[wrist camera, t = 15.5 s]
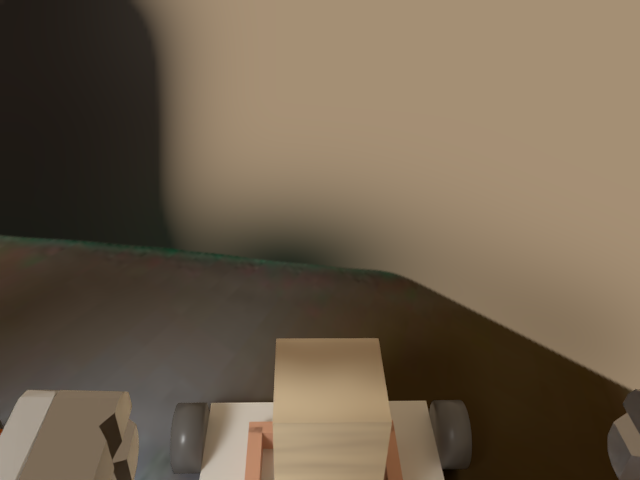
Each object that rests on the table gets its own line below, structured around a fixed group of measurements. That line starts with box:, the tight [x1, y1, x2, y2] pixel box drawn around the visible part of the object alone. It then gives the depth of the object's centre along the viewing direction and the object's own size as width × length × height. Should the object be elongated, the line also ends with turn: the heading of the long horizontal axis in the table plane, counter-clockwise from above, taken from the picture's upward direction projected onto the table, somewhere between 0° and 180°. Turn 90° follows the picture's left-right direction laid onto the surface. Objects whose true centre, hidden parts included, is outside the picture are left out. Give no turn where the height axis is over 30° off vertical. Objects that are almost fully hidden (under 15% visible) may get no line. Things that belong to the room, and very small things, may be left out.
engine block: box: [273, 338, 392, 480], centre depth 29 cm, size 5×5×10 cm
